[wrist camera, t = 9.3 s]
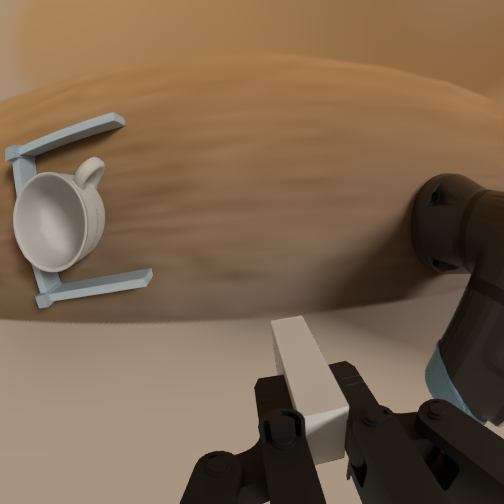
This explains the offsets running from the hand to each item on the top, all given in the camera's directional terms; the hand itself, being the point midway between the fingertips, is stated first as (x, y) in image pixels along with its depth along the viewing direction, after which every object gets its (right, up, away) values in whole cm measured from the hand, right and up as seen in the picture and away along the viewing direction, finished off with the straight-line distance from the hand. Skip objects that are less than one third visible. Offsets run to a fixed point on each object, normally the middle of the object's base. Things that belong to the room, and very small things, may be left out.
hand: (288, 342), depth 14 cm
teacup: (-23, +10, +20) cm, 32 cm away
